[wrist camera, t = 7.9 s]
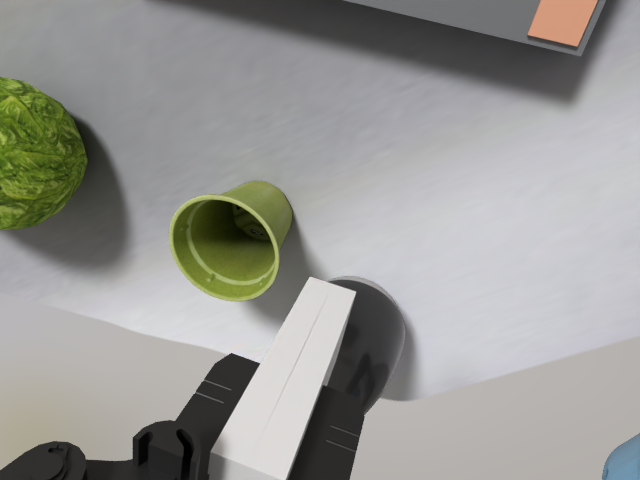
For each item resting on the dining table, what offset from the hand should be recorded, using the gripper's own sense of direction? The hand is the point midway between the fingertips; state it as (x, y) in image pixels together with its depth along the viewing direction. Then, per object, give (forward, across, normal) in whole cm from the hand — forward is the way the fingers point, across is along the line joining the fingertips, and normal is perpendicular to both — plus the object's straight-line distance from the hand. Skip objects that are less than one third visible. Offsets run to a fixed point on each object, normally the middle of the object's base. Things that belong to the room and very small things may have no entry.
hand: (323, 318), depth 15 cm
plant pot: (+27, +11, +11) cm, 31 cm away
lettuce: (+27, +38, +12) cm, 48 cm away
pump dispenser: (+27, 0, +18) cm, 32 cm away
